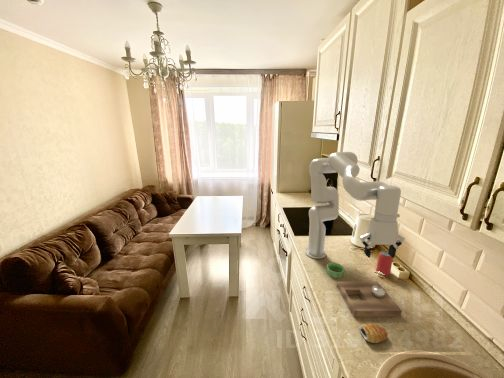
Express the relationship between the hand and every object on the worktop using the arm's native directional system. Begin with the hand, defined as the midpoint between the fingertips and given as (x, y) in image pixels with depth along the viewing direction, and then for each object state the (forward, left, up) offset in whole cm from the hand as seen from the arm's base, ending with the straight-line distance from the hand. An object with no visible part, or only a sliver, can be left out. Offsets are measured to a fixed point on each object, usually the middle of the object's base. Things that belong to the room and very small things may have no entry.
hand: (379, 255), depth 88 cm
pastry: (+16, -5, -27) cm, 31 cm away
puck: (-4, +5, -23) cm, 24 cm away
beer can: (-24, +20, -26) cm, 41 cm away
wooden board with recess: (-4, 0, -26) cm, 26 cm away
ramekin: (-23, -7, -26) cm, 36 cm away
